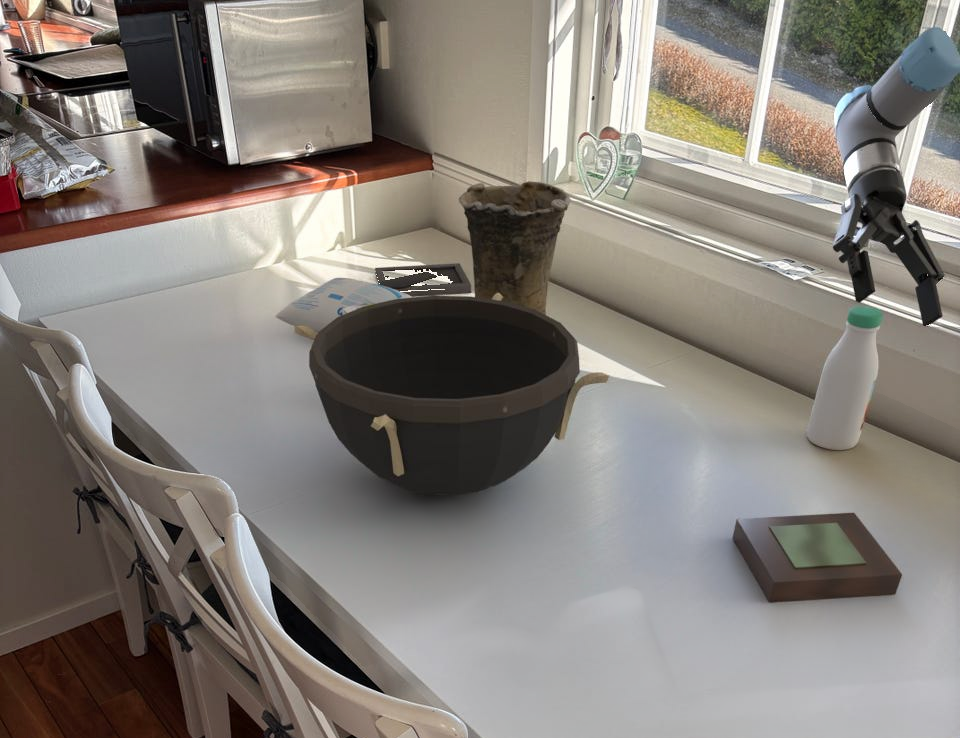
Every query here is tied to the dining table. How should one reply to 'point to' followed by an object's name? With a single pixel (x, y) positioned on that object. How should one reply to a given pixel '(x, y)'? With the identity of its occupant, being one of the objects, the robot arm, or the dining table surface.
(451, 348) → the bowl
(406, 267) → the picture frame
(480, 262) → the vase
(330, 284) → the pouch
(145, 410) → the dining table surface
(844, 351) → the milk bottle
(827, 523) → the brown wooden platform
